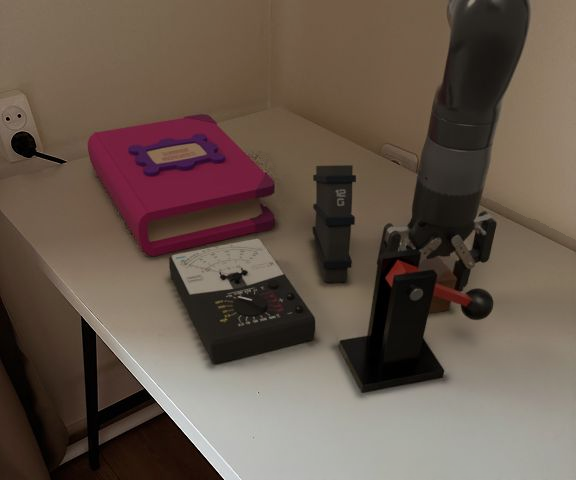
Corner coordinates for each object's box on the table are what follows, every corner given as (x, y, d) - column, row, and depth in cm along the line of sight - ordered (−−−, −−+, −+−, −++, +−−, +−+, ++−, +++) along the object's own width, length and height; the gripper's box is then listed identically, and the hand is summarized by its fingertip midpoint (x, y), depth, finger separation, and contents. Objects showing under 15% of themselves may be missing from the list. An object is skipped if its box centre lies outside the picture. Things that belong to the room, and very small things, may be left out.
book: (143, 260, 89) (135, 211, 84) (92, 174, 107) (83, 129, 101) (278, 227, 96) (278, 180, 91) (209, 152, 114) (207, 109, 108)
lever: (470, 310, 75) (490, 286, 74) (485, 329, 73) (505, 305, 71) (379, 278, 68) (398, 251, 66) (392, 298, 66) (412, 270, 64)
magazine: (326, 287, 83) (326, 166, 78) (312, 272, 95) (311, 166, 90) (354, 286, 83) (356, 165, 78) (337, 271, 95) (337, 165, 90)
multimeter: (212, 367, 74) (210, 334, 70) (169, 277, 86) (165, 245, 83) (315, 341, 77) (318, 309, 74) (260, 258, 90) (260, 227, 87)
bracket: (414, 334, 79) (435, 237, 69) (442, 378, 73) (469, 279, 64) (338, 347, 77) (349, 249, 67) (361, 393, 71) (376, 293, 62)
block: (432, 288, 86) (439, 256, 82) (449, 310, 83) (457, 278, 79) (398, 293, 85) (404, 261, 81) (413, 316, 82) (420, 284, 78)
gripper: (406, 199, 68) (386, 319, 79) (525, 184, 70) (489, 302, 82) (380, 167, 73) (365, 284, 84) (492, 155, 76) (462, 269, 87)
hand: (426, 293), depth 83 cm, fingers open, 8 cm apart
